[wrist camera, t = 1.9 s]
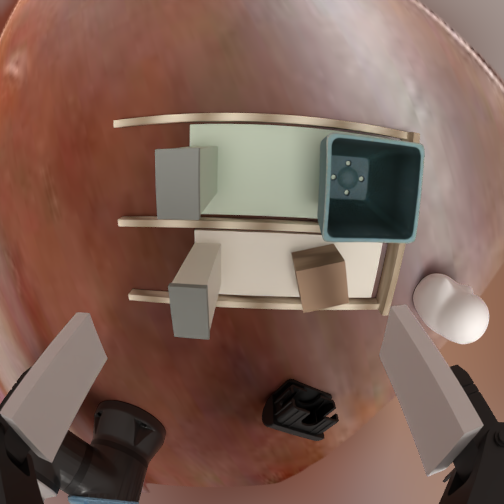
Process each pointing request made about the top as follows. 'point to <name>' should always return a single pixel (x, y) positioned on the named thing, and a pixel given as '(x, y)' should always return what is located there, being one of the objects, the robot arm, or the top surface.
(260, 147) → the sage strip
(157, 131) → the top surface
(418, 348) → the robot arm
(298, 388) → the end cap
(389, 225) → the flower pot
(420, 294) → the figurine
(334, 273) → the walnut block
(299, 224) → the lane frame
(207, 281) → the cream strip
